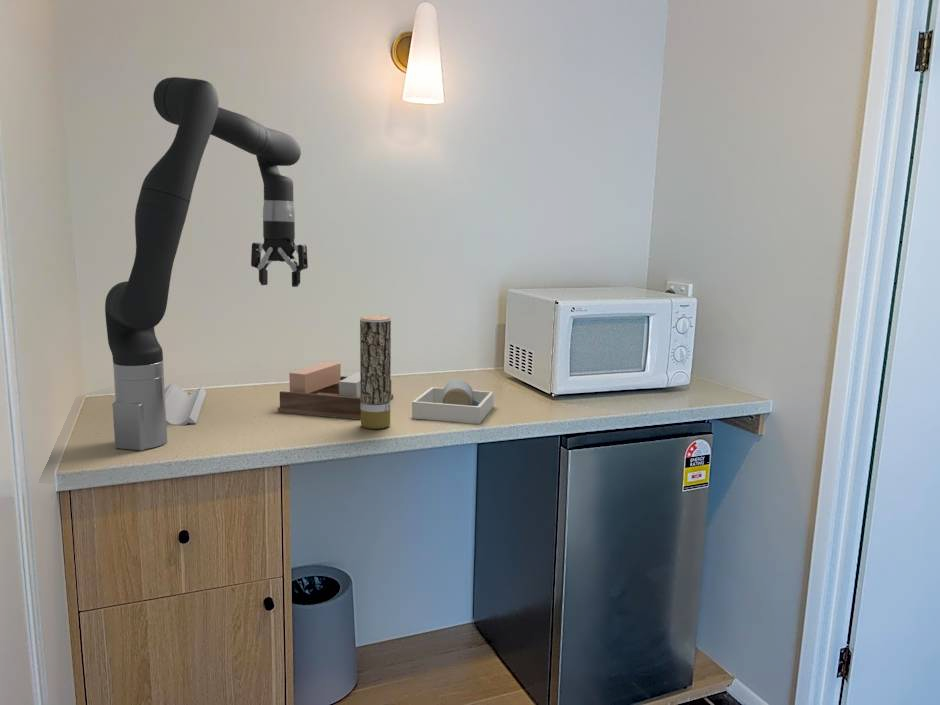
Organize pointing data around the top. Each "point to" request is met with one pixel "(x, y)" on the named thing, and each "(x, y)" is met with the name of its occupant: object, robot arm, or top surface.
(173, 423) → the crown molding
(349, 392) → the grey bar
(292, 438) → the top surface
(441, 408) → the frame
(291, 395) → the rack
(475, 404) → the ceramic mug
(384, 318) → the bark log cylinder
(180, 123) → the robot arm
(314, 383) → the clay bar
